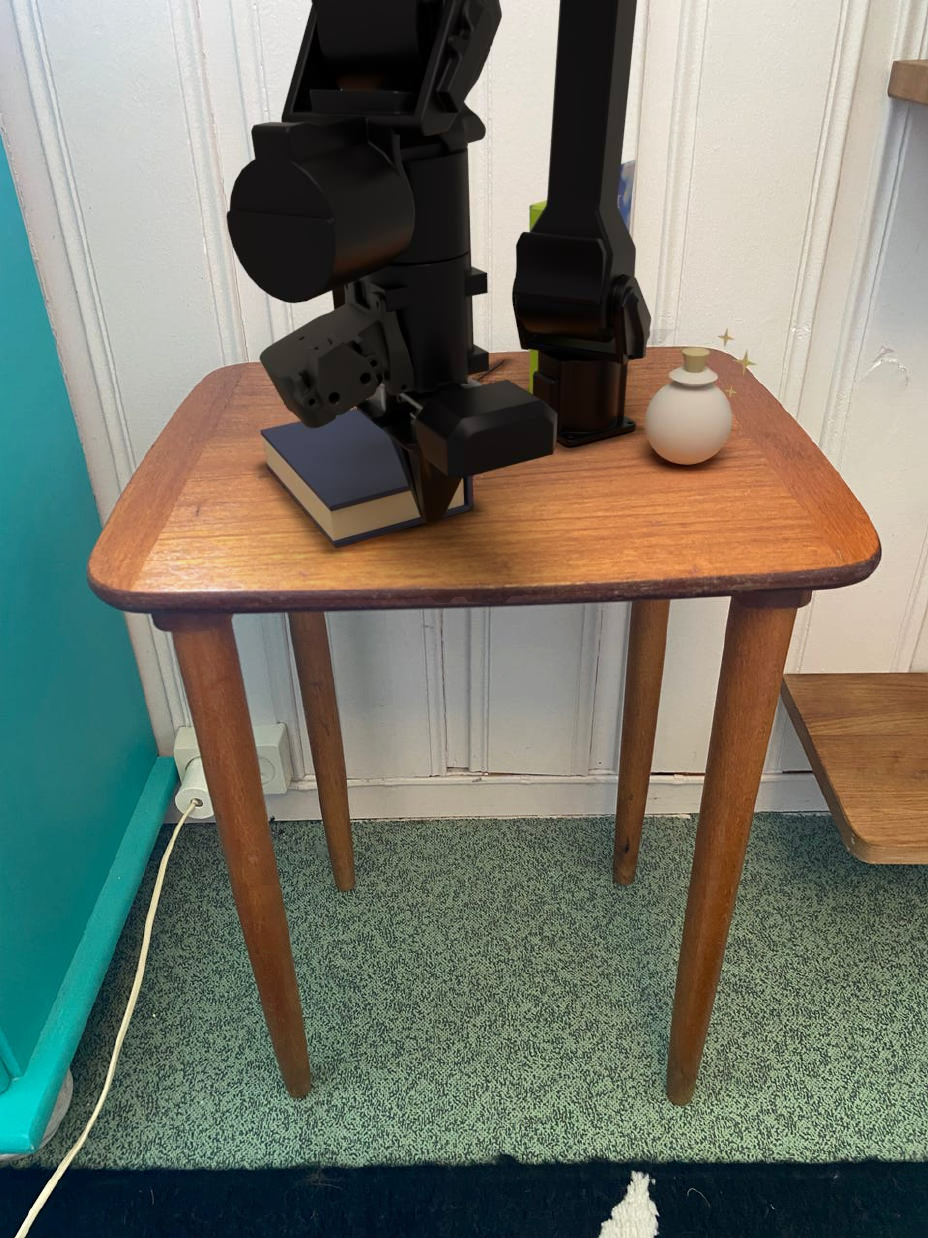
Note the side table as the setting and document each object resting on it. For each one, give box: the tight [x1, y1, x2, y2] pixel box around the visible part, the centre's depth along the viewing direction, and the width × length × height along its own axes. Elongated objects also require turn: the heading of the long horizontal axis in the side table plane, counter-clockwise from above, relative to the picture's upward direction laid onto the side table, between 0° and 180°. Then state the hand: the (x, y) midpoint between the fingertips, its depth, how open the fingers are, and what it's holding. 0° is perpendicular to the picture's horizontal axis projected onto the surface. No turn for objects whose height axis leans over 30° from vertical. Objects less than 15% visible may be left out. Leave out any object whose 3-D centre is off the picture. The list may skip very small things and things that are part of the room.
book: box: [260, 408, 475, 549], centre depth 64 cm, size 10×14×3 cm
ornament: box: [644, 328, 758, 466], centre depth 63 cm, size 6×7×10 cm
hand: (431, 520), depth 55 cm, fingers closed
